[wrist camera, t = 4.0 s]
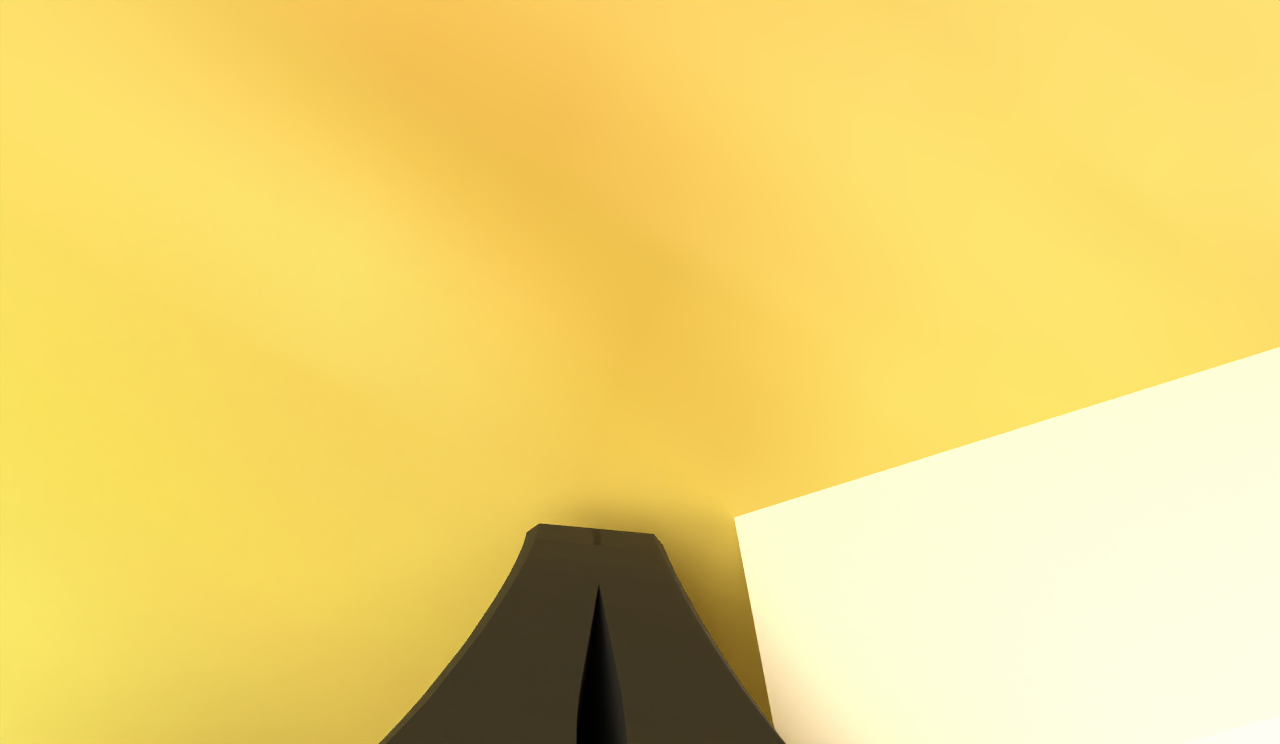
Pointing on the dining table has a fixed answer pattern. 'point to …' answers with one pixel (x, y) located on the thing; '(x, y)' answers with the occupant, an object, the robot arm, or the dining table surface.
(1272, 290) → the dining table surface
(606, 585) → the robot arm
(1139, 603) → the cream carton
